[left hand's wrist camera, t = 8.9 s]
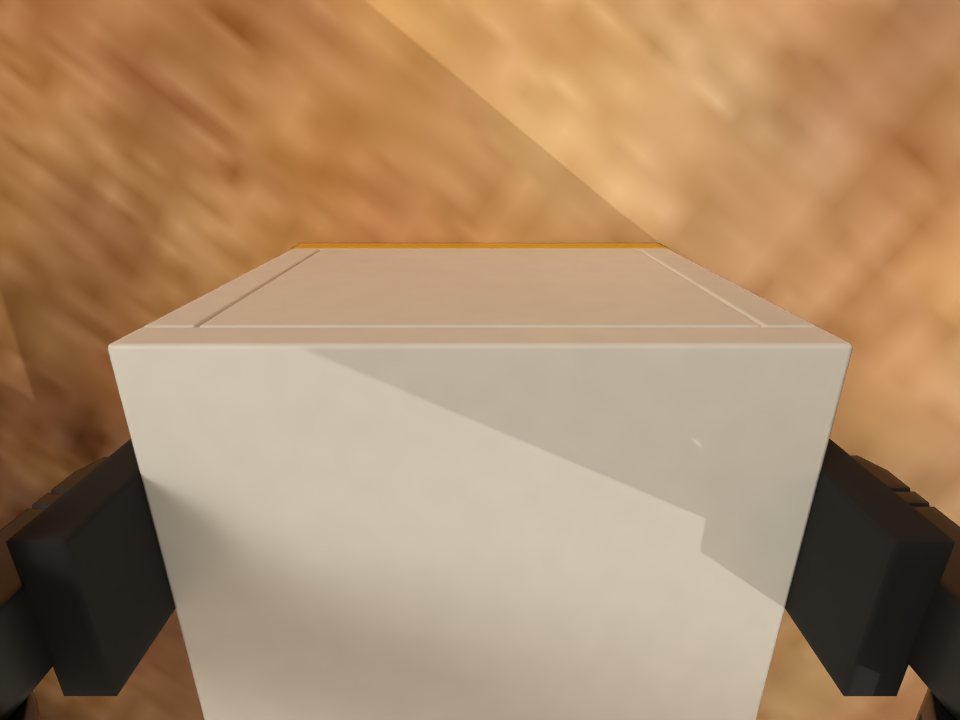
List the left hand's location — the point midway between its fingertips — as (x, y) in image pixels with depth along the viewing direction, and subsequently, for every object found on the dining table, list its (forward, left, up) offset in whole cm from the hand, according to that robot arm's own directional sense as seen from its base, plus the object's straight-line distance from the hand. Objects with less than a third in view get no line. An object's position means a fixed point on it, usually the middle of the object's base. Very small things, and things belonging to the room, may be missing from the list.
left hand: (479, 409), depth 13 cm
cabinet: (+3, -3, -4) cm, 5 cm away
